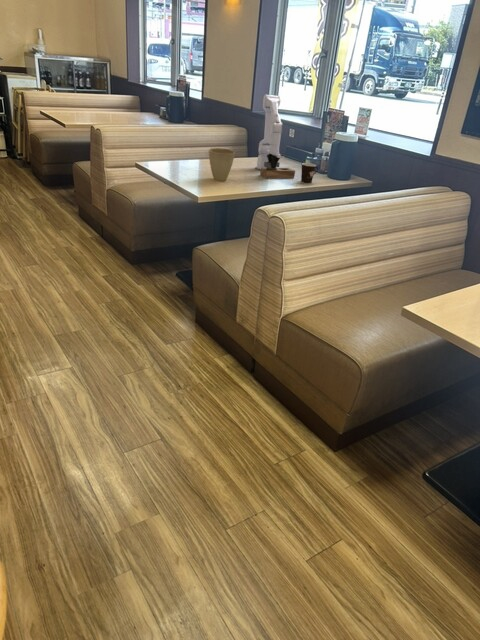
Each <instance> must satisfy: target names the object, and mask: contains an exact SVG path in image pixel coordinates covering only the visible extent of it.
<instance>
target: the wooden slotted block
mask: <svg viewBox="0 0 480 640" xmlns="http://www.w3.org/2000/svg"><path fill="white" fill-rule="evenodd" d="M259 175H260V176H261V177H263V178H264V179H294V178H295V175H296V170H295V169H292V168H291V167H276V170H268V169H267V168H261V170H260V173H259Z"/></svg>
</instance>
